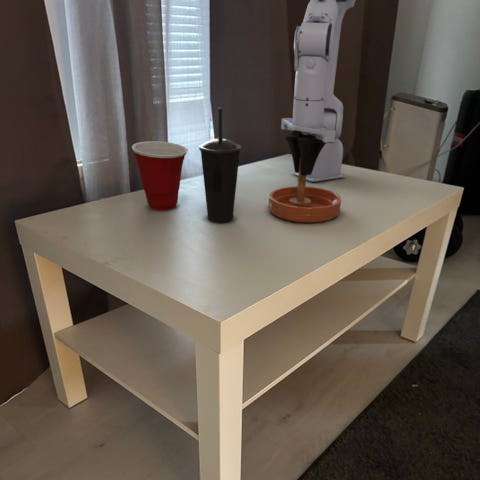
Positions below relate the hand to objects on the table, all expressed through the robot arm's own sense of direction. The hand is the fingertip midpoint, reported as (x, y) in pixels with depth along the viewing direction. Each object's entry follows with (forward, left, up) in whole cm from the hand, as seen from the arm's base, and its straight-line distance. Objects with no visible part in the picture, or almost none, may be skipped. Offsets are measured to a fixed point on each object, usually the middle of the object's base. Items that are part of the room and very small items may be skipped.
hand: (303, 173), depth 96 cm
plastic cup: (+24, -14, -8) cm, 29 cm away
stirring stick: (0, 0, -6) cm, 6 cm away
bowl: (0, +2, -7) cm, 8 cm away
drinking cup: (+17, -2, -8) cm, 19 cm away
